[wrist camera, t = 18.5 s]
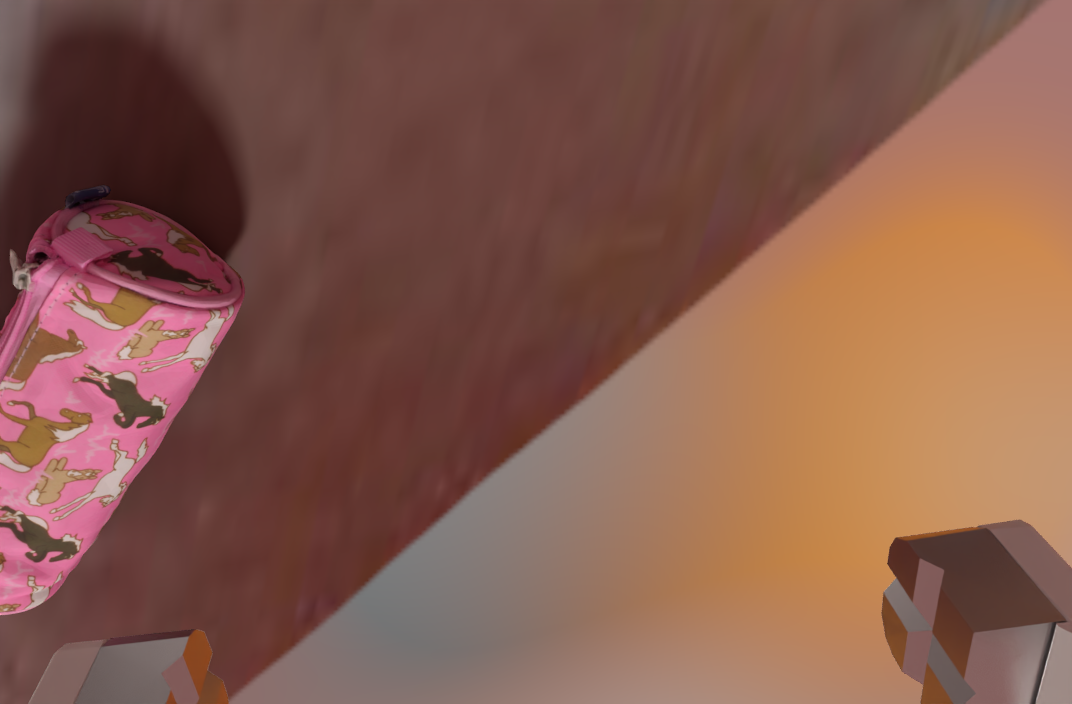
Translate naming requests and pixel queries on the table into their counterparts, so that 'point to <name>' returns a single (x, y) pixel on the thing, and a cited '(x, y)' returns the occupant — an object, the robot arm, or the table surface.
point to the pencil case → (95, 374)
